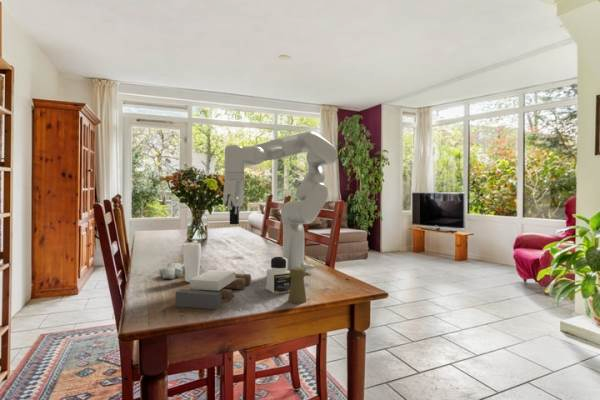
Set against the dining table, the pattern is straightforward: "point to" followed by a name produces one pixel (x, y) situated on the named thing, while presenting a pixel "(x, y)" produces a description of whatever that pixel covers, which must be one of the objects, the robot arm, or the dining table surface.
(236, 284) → the track
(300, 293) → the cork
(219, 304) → the grey rectangular bar
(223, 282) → the slab
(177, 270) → the bunny figurine
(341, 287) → the dining table surface
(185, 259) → the white cup
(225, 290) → the roller
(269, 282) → the medicine bottle
